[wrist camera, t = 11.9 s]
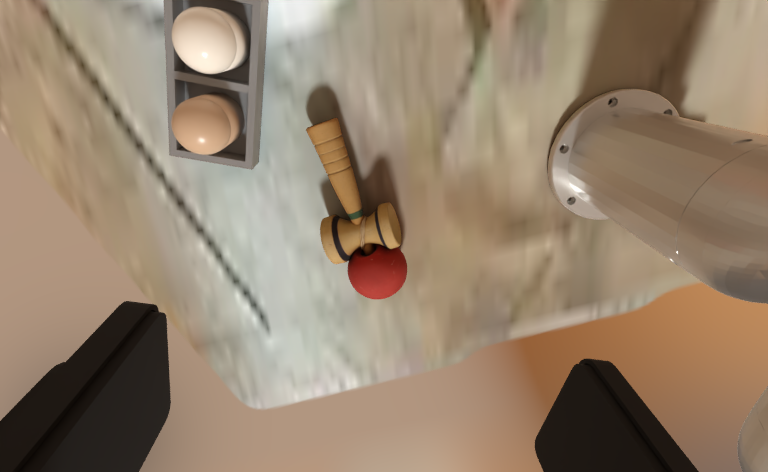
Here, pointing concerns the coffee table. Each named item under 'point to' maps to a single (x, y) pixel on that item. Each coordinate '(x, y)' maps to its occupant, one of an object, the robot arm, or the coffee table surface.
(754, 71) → the coffee table surface
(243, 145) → the carton
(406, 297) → the coffee table surface
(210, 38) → the egg
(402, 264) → the kendama
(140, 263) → the coffee table surface
